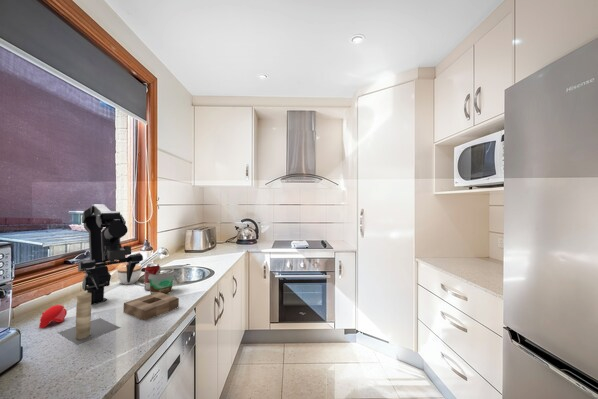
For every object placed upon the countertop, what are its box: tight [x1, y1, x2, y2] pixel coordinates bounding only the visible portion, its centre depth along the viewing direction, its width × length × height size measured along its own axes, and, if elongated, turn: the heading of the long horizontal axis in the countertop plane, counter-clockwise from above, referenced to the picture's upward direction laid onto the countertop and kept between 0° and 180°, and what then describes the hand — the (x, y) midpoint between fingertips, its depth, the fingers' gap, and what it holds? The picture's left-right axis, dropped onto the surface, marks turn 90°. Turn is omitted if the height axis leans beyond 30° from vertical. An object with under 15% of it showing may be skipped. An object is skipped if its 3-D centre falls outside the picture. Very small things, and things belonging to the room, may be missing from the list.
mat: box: [57, 317, 121, 346], centre depth 84 cm, size 14×12×1 cm
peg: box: [75, 292, 92, 340], centre depth 80 cm, size 4×4×14 cm
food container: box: [148, 268, 176, 295], centre depth 119 cm, size 12×6×10 cm, turn 148°
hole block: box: [122, 292, 180, 321], centre depth 101 cm, size 14×14×4 cm
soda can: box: [144, 262, 161, 291], centre depth 125 cm, size 7×7×12 cm
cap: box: [38, 304, 68, 329], centre depth 88 cm, size 8×6×6 cm
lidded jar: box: [117, 265, 143, 285], centre depth 134 cm, size 11×11×9 cm
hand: (113, 285), depth 91 cm, fingers open, 9 cm apart
